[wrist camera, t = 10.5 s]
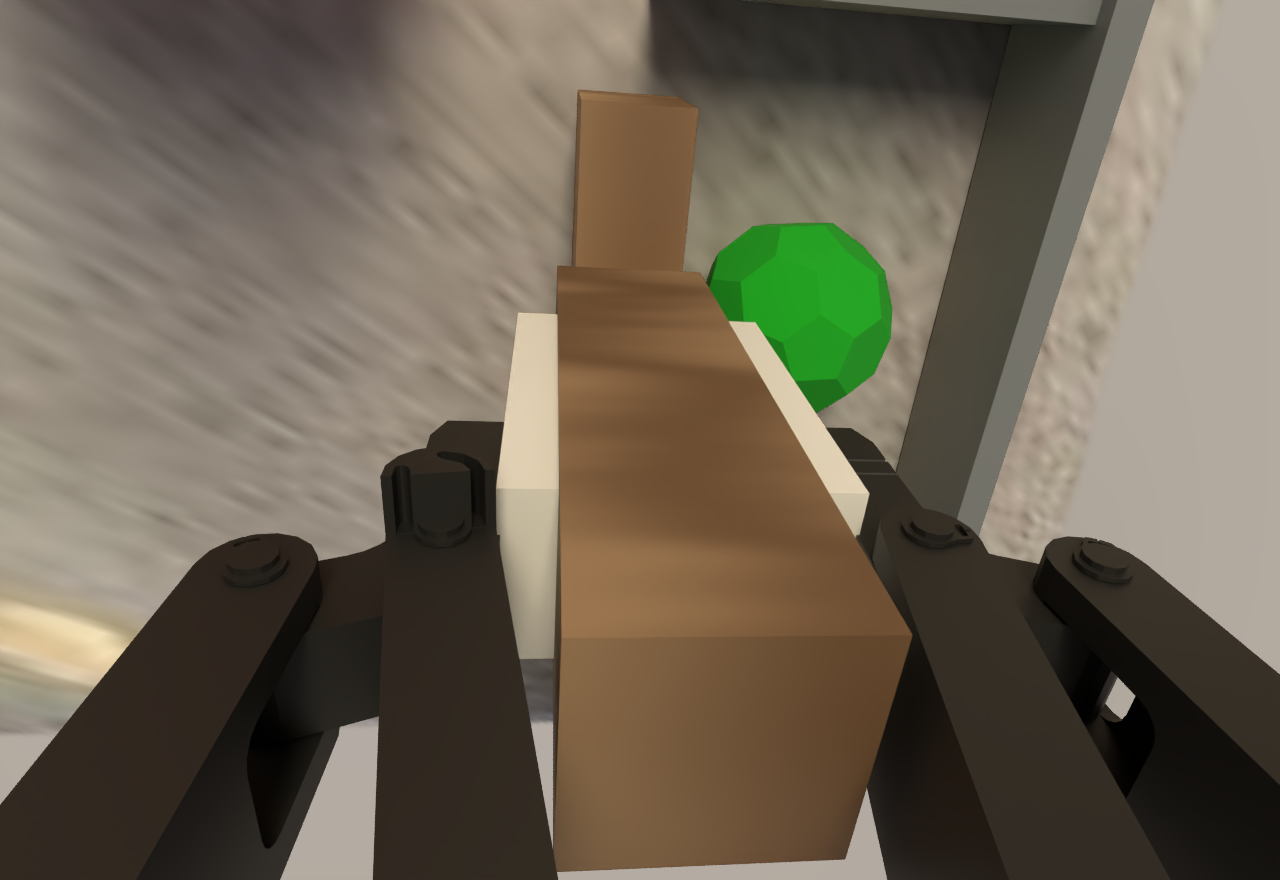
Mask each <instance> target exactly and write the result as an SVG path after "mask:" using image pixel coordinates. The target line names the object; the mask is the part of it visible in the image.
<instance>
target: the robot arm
mask: <svg viewBox="0 0 1280 880" xmlns="http://www.w3.org/2000/svg"><path fill="white" fill-rule="evenodd" d="M729 323H730V325H731V326H732V328H733V330H734V332H735V333H736V335H737V337H738V338H739V340H740V342H741V343H742V345H743V347H744V349H745V350H746V352H747V354H748V355H749V357H750V359H751V361H752V362H753V364H754V366H755V367H756V369H757V371H758V372H759V374H760V376H761V378H762V379H763V381H764V383H765V384H766V386H767V388H768V389H769V391H770V393H771V395H772V396H773V398H774V400H775V401H776V403H777V405H778V407H779V408H780V410H781V412H782V413H783V415H784V417H785V418H786V420H787V422H788V424H789V425H790V427H791V429H792V430H793V432H794V434H795V436H796V437H797V439H798V441H799V442H800V444H801V446H802V447H803V449H804V451H805V453H806V454H807V456H808V458H809V459H810V461H811V463H812V464H813V466H814V468H815V470H816V471H817V473H818V475H819V476H820V478H821V480H822V482H823V483H824V485H825V487H826V488H827V490H828V492H829V493H830V495H831V497H832V499H833V500H834V502H835V504H836V505H837V507H838V509H839V510H840V512H841V514H842V516H843V517H844V519H845V521H846V522H847V524H848V526H849V528H850V529H851V531H852V533H853V534H854V536H855V538H856V539H857V541H858V543H859V545H860V546H861V548H862V550H863V551H864V553H865V555H866V557H867V558H868V560H869V562H870V563H871V565H872V567H873V568H874V570H875V572H876V574H877V575H878V577H879V579H880V580H881V582H882V584H883V585H884V587H885V589H886V591H887V592H888V594H889V596H890V597H891V599H892V601H893V603H894V604H895V606H896V608H897V609H898V611H899V613H900V614H901V616H902V618H903V620H904V621H905V623H906V625H907V626H908V628H909V630H910V632H911V633H912V635H913V636H912V639H911V642H910V646H909V649H908V652H907V656H906V659H905V662H904V666H903V669H902V672H901V676H900V679H899V682H898V686H897V689H896V692H895V695H894V699H893V702H892V705H891V709H890V712H889V715H888V719H887V722H886V725H885V729H884V732H883V735H882V739H881V742H880V745H879V749H878V752H877V755H876V759H875V762H874V765H873V769H872V772H871V775H870V778H869V782H868V785H867V790H868V794H869V799H870V803H871V808H872V812H873V817H874V821H875V826H876V830H877V835H878V839H879V844H880V848H881V853H882V857H883V862H884V866H885V871H886V875H887V880H1280V674H1279V673H1277V672H1276V671H1275V670H1274V669H1272V668H1271V667H1270V666H1269V665H1268V664H1266V663H1265V662H1264V661H1263V660H1262V659H1260V658H1259V657H1258V656H1257V655H1255V654H1254V653H1253V652H1252V651H1251V650H1249V649H1248V648H1247V647H1246V646H1245V645H1243V644H1242V643H1241V642H1240V641H1239V640H1237V639H1236V638H1235V637H1234V636H1233V635H1231V634H1230V633H1229V632H1228V631H1226V630H1225V629H1224V628H1223V627H1222V626H1220V625H1219V624H1218V623H1217V622H1215V621H1214V620H1213V619H1212V618H1211V617H1210V616H1208V615H1207V614H1206V613H1205V612H1203V611H1202V610H1201V609H1200V608H1199V607H1197V606H1196V605H1195V604H1194V603H1192V602H1191V601H1190V600H1189V599H1188V598H1186V597H1185V596H1184V595H1183V594H1182V593H1181V592H1179V591H1178V590H1177V589H1176V588H1174V587H1173V586H1172V585H1171V584H1169V583H1168V582H1167V581H1166V580H1165V579H1163V578H1162V577H1161V576H1160V575H1159V574H1157V573H1156V572H1155V571H1154V570H1153V569H1151V568H1150V567H1149V566H1148V565H1147V564H1145V563H1144V562H1142V561H1141V560H1139V559H1138V558H1136V557H1135V556H1133V555H1132V554H1130V553H1129V552H1126V551H1124V550H1122V549H1120V548H1117V547H1115V546H1114V545H1113V544H1111V543H1108V542H1105V541H1102V540H1100V541H1097V539H1093V538H1087V537H1085V538H1081V537H1063V538H1058V539H1053V540H1052V541H1051V542H1050V543H1049V544H1048V545H1047V546H1046V548H1045V550H1044V553H1043V556H1042V558H1041V561H1040V563H1039V564H1036V563H1031V562H1026V561H1021V560H1016V559H1011V558H1006V557H1001V556H996V555H992V554H989V553H988V552H987V550H986V548H985V546H984V544H983V543H982V541H981V539H980V538H979V537H978V536H977V534H976V533H975V532H974V531H973V530H972V529H971V528H970V527H969V526H967V525H965V524H964V523H962V522H961V521H959V520H958V519H956V518H954V517H951V516H948V515H946V514H943V513H941V512H938V511H934V510H929V509H923V508H922V506H921V505H920V504H919V502H918V501H917V500H916V499H915V497H914V496H913V495H912V493H911V492H910V491H909V489H908V488H907V487H906V485H905V484H904V483H903V481H902V480H901V479H900V477H899V476H898V475H895V471H894V469H893V468H892V467H891V465H890V464H889V463H888V462H885V458H884V456H883V455H882V454H881V452H880V451H879V450H878V448H877V447H876V446H875V444H874V443H873V442H872V441H870V440H868V439H867V438H865V437H864V436H862V435H861V434H859V433H858V432H856V431H855V430H853V429H851V428H825V426H824V425H823V423H822V422H821V420H820V419H819V417H818V416H817V414H816V413H815V411H814V410H813V408H812V407H811V405H810V404H809V402H808V401H807V399H806V398H805V396H804V395H803V393H802V392H801V390H800V389H799V387H798V386H797V384H796V383H795V381H794V380H793V378H792V377H791V375H790V374H789V372H788V371H787V369H786V368H785V366H784V365H783V363H782V362H781V360H780V359H779V357H778V356H777V354H776V353H775V351H774V350H773V348H772V347H771V345H770V344H769V342H768V341H767V339H766V338H765V336H764V335H763V333H762V332H761V330H760V329H759V327H758V326H757V324H756V323H755V322H735V321H729ZM380 478H381V489H382V500H383V511H384V522H385V533H386V540H385V542H383V543H381V544H380V545H378V546H375V547H373V548H371V549H368V550H366V551H363V552H359V553H355V554H351V555H348V556H343V557H337V558H332V559H327V560H321V561H318V556H317V554H316V552H315V550H314V548H313V546H312V545H311V544H309V543H308V542H306V541H304V540H302V539H301V538H299V537H296V536H290V535H284V534H279V533H275V534H256V535H250V536H247V537H241V538H238V539H235V540H231V541H229V542H227V543H225V544H223V545H221V546H218V547H216V548H214V549H212V550H210V551H209V552H208V553H206V554H205V555H204V556H203V557H202V558H201V559H199V560H198V561H197V562H196V563H195V564H194V565H193V566H192V568H191V569H190V570H189V571H188V572H187V574H186V575H185V576H184V577H183V579H182V580H181V581H180V582H179V584H178V585H177V586H176V587H175V589H174V590H173V591H172V592H171V594H170V595H169V596H168V597H167V599H166V600H165V601H164V602H163V604H162V605H161V606H160V607H159V608H158V610H157V611H156V612H155V613H154V615H153V616H152V617H151V618H150V620H149V621H148V622H147V623H146V625H145V626H144V627H143V628H142V630H141V631H140V632H139V633H138V635H137V636H136V637H135V638H134V640H133V641H132V642H131V643H130V644H129V646H128V647H127V648H126V649H125V651H124V652H123V653H122V654H121V656H120V657H119V658H118V659H117V661H116V662H115V663H114V664H113V666H112V667H111V668H110V669H109V671H108V672H107V673H106V674H105V675H104V677H103V678H102V679H101V680H100V682H99V683H98V684H97V685H96V687H95V688H94V689H93V690H92V692H91V693H90V694H89V695H88V697H87V698H86V699H85V700H84V702H83V703H82V704H81V705H80V707H79V708H78V709H77V710H76V711H75V713H74V714H73V715H72V716H71V718H70V719H69V720H68V721H67V723H66V724H65V725H64V726H63V728H62V729H61V730H60V731H59V733H58V734H57V735H56V736H55V738H54V739H53V740H52V741H51V743H50V744H49V745H48V746H47V747H46V749H45V750H44V751H43V752H42V754H41V755H40V756H39V757H38V759H37V760H36V761H35V762H34V764H33V765H32V766H31V767H30V769H29V770H28V771H27V772H26V774H25V775H24V776H23V777H22V778H21V780H20V781H19V782H18V783H17V785H16V786H15V787H14V788H13V790H12V791H11V792H10V794H9V795H8V796H7V797H6V798H5V800H4V801H3V802H2V803H1V805H0V880H280V878H281V876H282V874H283V871H284V869H285V866H286V864H287V861H288V859H289V856H290V854H291V851H292V849H293V847H294V844H295V841H296V839H297V837H298V834H299V832H300V829H301V827H302V824H303V822H304V819H305V817H306V814H307V812H308V810H309V807H310V805H311V802H312V799H313V797H314V795H315V792H316V789H317V787H318V785H319V782H320V780H321V777H322V775H323V773H324V770H325V768H326V765H327V763H328V760H329V758H330V755H331V753H332V750H333V748H334V746H335V743H336V740H337V738H338V735H339V728H340V727H341V726H345V725H348V724H352V723H355V722H359V721H363V720H366V719H370V718H374V717H377V716H379V729H378V756H377V757H378V758H377V783H376V784H377V785H376V810H375V837H374V864H373V880H558V876H557V870H556V865H555V859H554V853H553V848H552V842H551V836H550V831H549V825H548V820H547V813H546V808H545V802H544V797H543V791H542V785H541V779H540V774H539V768H538V762H537V757H536V751H535V745H534V740H533V735H532V728H531V723H530V717H529V711H528V706H527V700H526V694H525V689H524V683H523V677H522V672H521V666H520V660H519V659H554V634H555V601H556V569H557V537H558V505H559V429H558V318H557V314H536V313H518V320H517V327H516V335H515V343H514V351H513V359H512V367H511V374H510V382H509V390H508V398H507V406H506V414H505V421H504V422H482V421H447V422H446V423H444V424H443V425H442V426H441V427H439V428H438V429H437V430H436V431H435V432H433V433H432V434H431V435H430V438H429V441H428V444H427V447H426V448H424V449H417V450H414V451H411V452H408V453H406V454H403V455H400V456H398V457H396V458H395V459H394V460H392V461H391V462H390V463H388V464H387V465H385V467H384V470H383V472H382V474H381V476H380ZM1117 677H1118V678H1119V679H1120V680H1121V681H1122V682H1123V683H1124V684H1125V685H1126V686H1127V687H1128V688H1129V689H1130V690H1131V691H1132V692H1133V694H1134V695H1135V699H1134V701H1133V703H1132V705H1131V707H1130V709H1129V711H1128V713H1127V715H1126V716H1125V717H1124V718H1123V719H1120V718H1119V717H1118V716H1117V715H1116V714H1114V713H1113V712H1112V711H1111V710H1110V709H1109V707H1108V706H1107V705H1106V704H1105V703H1106V700H1107V699H1108V696H1109V694H1110V692H1111V690H1112V688H1113V686H1114V684H1115V682H1116V679H1117Z"/></svg>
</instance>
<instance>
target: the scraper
mask: <svg viewBox="0 0 1280 880" xmlns="http://www.w3.org/2000/svg"><path fill="white" fill-rule="evenodd" d="M698 111H699V109H698V108H696V107H695V106H693V105H691V104H690V103H688V102H686V101H684V100H683V99H681V98H679V97H671V96H657V95H644V94H630V93H617V92H603V91H590V90H578V98H577V127H576V156H575V185H574V214H573V243H572V266H557V300H556V314H557V318H558V429H559V505H558V537H557V569H556V601H555V634H554V659H553V853H554V859H555V865H556V870H557V872H564V871H565V872H566V871H588V870H589V871H590V870H613V869H635V868H659V867H682V866H705V865H727V864H748V863H749V864H750V863H773V862H794V861H795V862H796V861H818V860H842V859H845V858H846V855H847V852H848V848H849V845H850V842H851V838H852V835H853V831H854V828H855V824H856V822H857V818H858V815H859V812H860V808H861V805H862V802H863V798H864V795H865V792H866V788H867V785H868V782H869V778H870V775H871V772H872V769H873V765H874V762H875V759H876V755H877V752H878V749H879V745H880V742H881V739H882V735H883V732H884V729H885V725H886V722H887V719H888V715H889V712H890V709H891V705H892V702H893V699H894V695H895V692H896V689H897V686H898V682H899V679H900V676H901V672H902V669H903V666H904V662H905V659H906V656H907V652H908V649H909V646H910V642H911V639H912V636H913V635H912V633H911V632H910V630H909V628H908V626H907V625H906V623H905V621H904V620H903V618H902V616H901V614H900V613H899V611H898V609H897V608H896V606H895V604H894V603H893V601H892V599H891V597H890V596H889V594H888V592H887V591H886V589H885V587H884V585H883V584H882V582H881V580H880V579H879V577H878V575H877V574H876V572H875V570H874V568H873V567H872V565H871V563H870V562H869V560H868V558H867V557H866V555H865V553H864V551H863V550H862V548H861V546H860V545H859V543H858V541H857V539H856V538H855V536H854V534H853V533H852V531H851V529H850V528H849V526H848V524H847V522H846V521H845V519H844V517H843V516H842V514H841V512H840V510H839V509H838V507H837V505H836V504H835V502H834V500H833V499H832V497H831V495H830V493H829V492H828V490H827V488H826V487H825V485H824V483H823V482H822V480H821V478H820V476H819V475H818V473H817V471H816V470H815V468H814V466H813V464H812V463H811V461H810V459H809V458H808V456H807V454H806V453H805V451H804V449H803V447H802V446H801V444H800V442H799V441H798V439H797V437H796V436H795V434H794V432H793V430H792V429H791V427H790V425H789V424H788V422H787V420H786V418H785V417H784V415H783V413H782V412H781V410H780V408H779V407H778V405H777V403H776V401H775V400H774V398H773V396H772V395H771V393H770V391H769V389H768V388H767V386H766V384H765V383H764V381H763V379H762V378H761V376H760V374H759V372H758V371H757V369H756V367H755V366H754V364H753V362H752V361H751V359H750V357H749V355H748V354H747V352H746V350H745V349H744V347H743V345H742V343H741V342H740V340H739V338H738V337H737V335H736V333H735V332H734V330H733V328H732V326H731V325H730V323H729V321H728V320H727V318H726V316H725V314H724V313H723V311H722V309H721V308H720V306H719V304H718V303H717V301H716V299H715V297H714V296H713V294H712V292H711V291H710V289H709V287H708V286H707V284H706V282H705V280H704V279H703V277H702V275H701V274H700V272H682V271H683V261H684V251H685V241H686V231H687V221H688V211H689V201H690V191H691V181H692V171H693V161H694V151H695V141H696V131H697V121H698Z"/></svg>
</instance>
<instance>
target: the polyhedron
mask: <svg viewBox="0 0 1280 880" xmlns="http://www.w3.org/2000/svg"><path fill="white" fill-rule="evenodd" d="M706 284H707V286H708V287H709V289H710V291H711V292H712V294H713V296H714V297H715V299H716V301H717V303H718V304H719V306H720V308H721V309H722V311H723V313H724V314H725V316H726V318H727V320H728V321H735V322H755V323H756V324H757V326H758V327H759V329H760V330H761V332H762V333H763V335H764V336H765V338H766V339H767V341H768V342H769V344H770V345H771V347H772V348H773V350H774V351H775V353H776V354H777V356H778V357H779V359H780V360H781V362H782V363H783V365H784V366H785V368H786V369H787V371H788V372H789V374H790V375H791V377H792V378H793V380H794V381H795V383H796V384H797V386H798V387H799V389H800V390H801V392H802V393H803V395H804V396H805V398H806V399H807V401H808V402H809V404H810V405H811V407H812V408H813V410H814V411H815V413H816V412H819V411H821V410H823V409H824V408H826V407H828V406H829V405H831V404H833V403H834V402H836V401H838V400H839V399H841V398H842V397H844V396H846V395H847V394H849V393H850V392H851V391H853V390H854V389H855V388H856V387H858V386H859V385H860V384H862V383H863V382H864V381H865V380H867V379H868V378H869V377H871V376H872V375H873V374H874V373H875V371H876V369H877V366H878V364H879V362H880V360H881V358H882V355H883V353H884V351H885V349H886V347H887V345H888V342H889V340H890V338H891V322H892V305H891V300H890V295H889V290H888V285H887V280H886V275H885V271H884V269H883V268H882V267H881V266H880V265H879V264H878V263H877V261H876V260H875V259H874V258H873V257H872V256H871V255H870V254H869V252H868V251H867V250H866V249H865V248H864V247H863V246H862V245H861V244H860V243H858V242H857V241H856V240H854V239H853V238H852V237H850V236H849V235H848V234H846V233H845V232H844V231H842V230H841V229H840V228H839V227H837V226H836V225H835V224H833V223H792V224H769V225H760V226H754V227H752V228H750V229H749V230H748V231H747V232H745V233H744V234H743V235H741V236H740V237H739V238H737V239H736V240H735V241H734V242H732V243H731V244H730V245H728V246H727V247H726V248H724V249H723V250H722V251H720V252H719V253H718V255H717V257H716V259H715V261H714V262H713V264H712V267H711V270H710V273H709V276H708V279H707V282H706Z"/></svg>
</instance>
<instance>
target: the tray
mask: <svg viewBox="0 0 1280 880" xmlns="http://www.w3.org/2000/svg"><path fill="white" fill-rule="evenodd" d="M741 1H752V2H763V3H774V4H785V5H796V6H807V7H818V8H829V9H840V10H851V11H862V12H873V13H884V14H895V15H906V16H917V17H928V18H939V19H950V20H961V21H972V22H983V23H995V24H1006V25H1012V27H1011V31H1010V34H1009V38H1008V42H1007V46H1006V50H1005V54H1004V58H1003V61H1002V65H1001V69H1000V73H999V77H998V81H997V85H996V88H995V92H994V96H993V100H992V104H991V108H990V112H989V116H988V119H987V123H986V127H985V131H984V135H983V139H982V143H981V146H980V150H979V154H978V158H977V162H976V166H975V170H974V174H973V177H972V181H971V185H970V189H969V193H968V197H967V201H966V204H965V208H964V212H963V216H962V220H961V224H960V228H959V231H958V235H957V239H956V243H955V247H954V251H953V255H952V259H951V262H950V266H949V270H948V274H947V278H946V282H945V286H944V289H943V293H942V297H941V301H940V305H939V309H938V313H937V316H936V320H935V324H934V328H933V332H932V336H931V340H930V344H929V347H928V351H927V355H926V359H925V363H924V367H923V371H922V374H921V378H920V382H919V386H918V390H917V394H916V398H915V401H914V405H913V409H912V413H911V417H910V421H909V425H908V429H907V432H906V436H905V440H904V444H903V448H902V452H901V456H900V459H899V463H898V467H897V471H896V475H898V476H899V477H900V479H901V480H902V481H903V483H904V484H905V485H906V487H907V488H908V489H909V491H910V492H911V493H912V495H913V496H914V497H915V499H916V500H917V501H918V502H919V504H920V505H921V506H922V508H923V509H929V510H934V511H938V512H941V513H943V514H946V515H948V516H951V517H954V518H956V519H958V520H959V521H961V522H962V523H964V524H965V525H967V526H969V527H970V528H971V529H972V530H973V531H974V532H975V533H976V534H977V536H979V533H980V530H981V527H982V524H983V521H984V518H985V515H986V512H987V509H988V506H989V503H990V500H991V497H992V494H993V491H994V488H995V485H996V482H997V479H998V475H999V472H1000V469H1001V466H1002V463H1003V460H1004V457H1005V454H1006V451H1007V448H1008V445H1009V442H1010V439H1011V436H1012V433H1013V430H1014V427H1015V424H1016V421H1017V418H1018V415H1019V412H1020V408H1021V405H1022V402H1023V399H1024V396H1025V393H1026V390H1027V387H1028V384H1029V381H1030V378H1031V375H1032V372H1033V369H1034V366H1035V363H1036V360H1037V357H1038V354H1039V351H1040V348H1041V345H1042V341H1043V338H1044V335H1045V332H1046V329H1047V326H1048V323H1049V320H1050V317H1051V314H1052V311H1053V308H1054V305H1055V302H1056V299H1057V296H1058V293H1059V290H1060V287H1061V284H1062V281H1063V278H1064V274H1065V271H1066V268H1067V265H1068V262H1069V259H1070V256H1071V253H1072V250H1073V247H1074V244H1075V241H1076V238H1077V235H1078V232H1079V229H1080V226H1081V223H1082V220H1083V217H1084V214H1085V210H1086V207H1087V204H1088V201H1089V198H1090V195H1091V192H1092V189H1093V186H1094V183H1095V180H1096V177H1097V174H1098V171H1099V168H1100V165H1101V162H1102V159H1103V156H1104V153H1105V150H1106V147H1107V143H1108V140H1109V137H1110V134H1111V131H1112V128H1113V125H1114V122H1115V119H1116V116H1117V113H1118V110H1119V107H1120V104H1121V101H1122V98H1123V95H1124V92H1125V89H1126V86H1127V83H1128V80H1129V76H1130V73H1131V70H1132V67H1133V64H1134V61H1135V58H1136V55H1137V52H1138V49H1139V46H1140V43H1141V40H1142V37H1143V34H1144V31H1145V28H1146V25H1147V22H1148V19H1149V16H1150V12H1151V9H1152V6H1153V3H1154V0H741Z"/></svg>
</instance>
